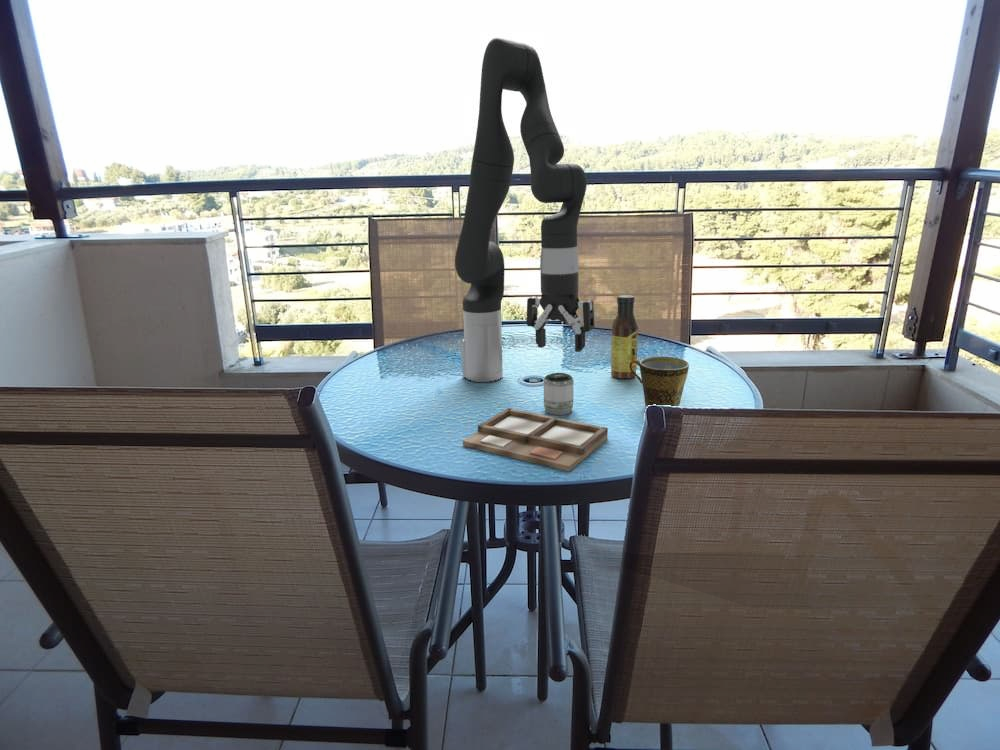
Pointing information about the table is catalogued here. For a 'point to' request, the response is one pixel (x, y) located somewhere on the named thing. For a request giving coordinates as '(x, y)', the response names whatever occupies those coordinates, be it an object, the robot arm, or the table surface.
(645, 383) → the ceramic cup
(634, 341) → the sauce bottle
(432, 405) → the table surface
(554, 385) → the camera lens
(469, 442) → the board
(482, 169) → the robot arm
